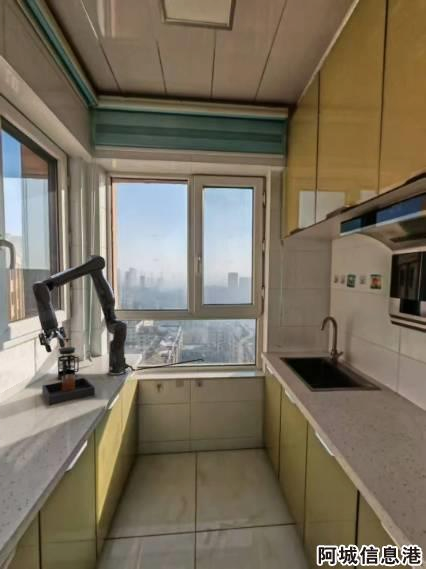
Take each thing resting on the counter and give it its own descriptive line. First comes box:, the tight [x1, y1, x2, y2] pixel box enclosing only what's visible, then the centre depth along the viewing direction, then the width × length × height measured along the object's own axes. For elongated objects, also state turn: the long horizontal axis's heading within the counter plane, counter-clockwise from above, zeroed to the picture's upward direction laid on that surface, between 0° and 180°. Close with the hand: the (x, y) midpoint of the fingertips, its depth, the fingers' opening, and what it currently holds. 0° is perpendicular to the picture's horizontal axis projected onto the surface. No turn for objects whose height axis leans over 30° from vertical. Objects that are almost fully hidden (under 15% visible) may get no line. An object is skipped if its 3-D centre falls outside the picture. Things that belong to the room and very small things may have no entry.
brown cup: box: [61, 374, 76, 393], centre depth 142 cm, size 6×6×9 cm
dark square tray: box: [41, 377, 95, 406], centre depth 142 cm, size 20×17×5 cm
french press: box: [57, 337, 80, 381], centre depth 168 cm, size 12×9×23 cm
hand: (56, 349), depth 147 cm, fingers open, 8 cm apart
